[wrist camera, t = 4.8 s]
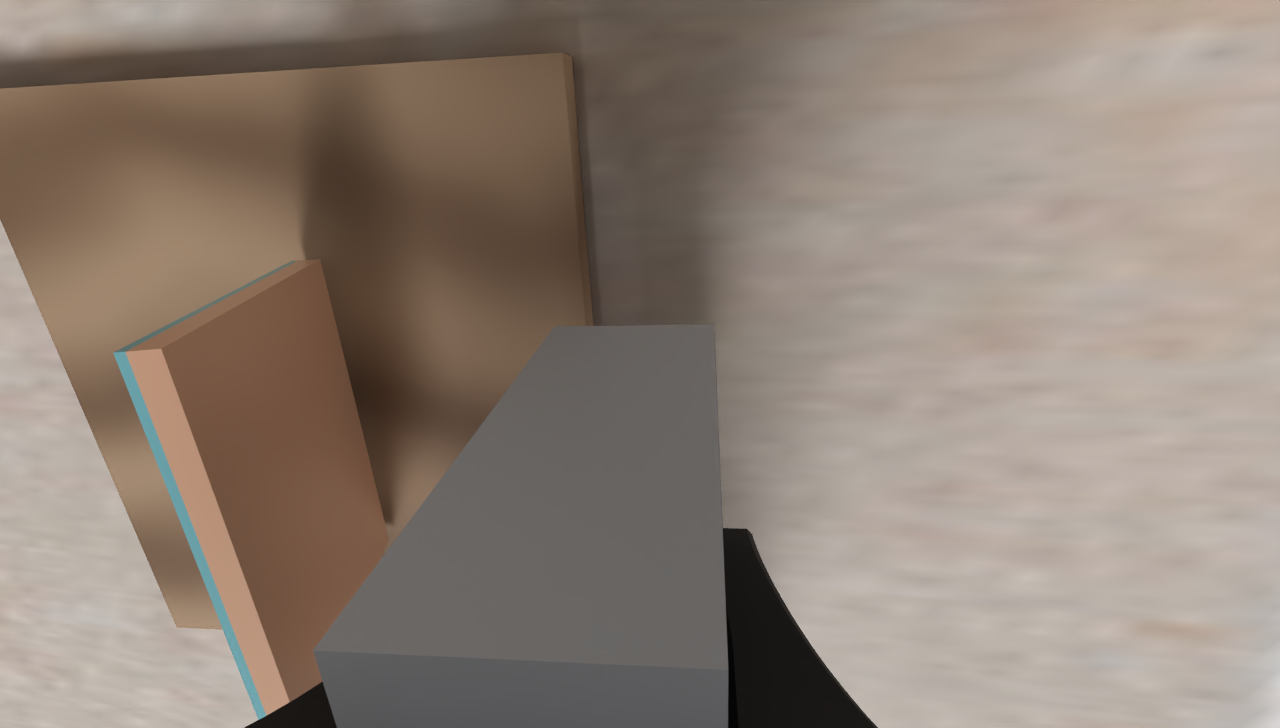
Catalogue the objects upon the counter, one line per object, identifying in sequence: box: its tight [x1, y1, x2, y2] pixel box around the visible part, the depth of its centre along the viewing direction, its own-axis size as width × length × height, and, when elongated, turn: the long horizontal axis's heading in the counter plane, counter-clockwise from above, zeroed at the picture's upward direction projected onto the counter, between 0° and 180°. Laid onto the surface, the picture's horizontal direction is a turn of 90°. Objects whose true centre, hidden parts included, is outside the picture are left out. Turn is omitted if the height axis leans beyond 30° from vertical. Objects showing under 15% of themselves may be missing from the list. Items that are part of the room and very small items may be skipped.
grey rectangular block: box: [313, 324, 728, 728], centre depth 11 cm, size 8×4×9 cm, turn 3°
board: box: [0, 52, 594, 629], centre depth 21 cm, size 20×18×1 cm
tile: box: [113, 259, 389, 720], centre depth 16 cm, size 10×8×1 cm
